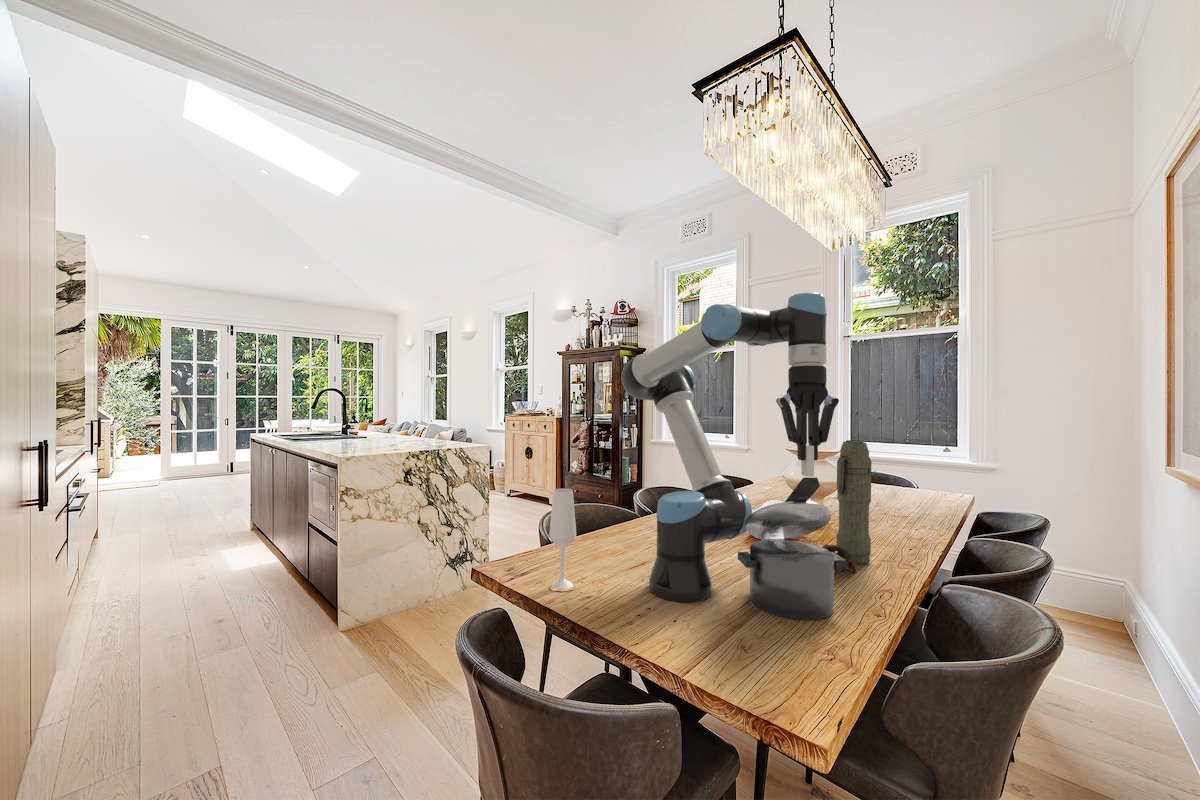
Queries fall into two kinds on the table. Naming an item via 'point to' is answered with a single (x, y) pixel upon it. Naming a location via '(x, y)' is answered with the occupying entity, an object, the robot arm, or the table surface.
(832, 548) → the pottery mug
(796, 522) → the lid
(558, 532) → the champagne flute
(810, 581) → the pot
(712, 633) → the table surface
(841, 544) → the thermos
